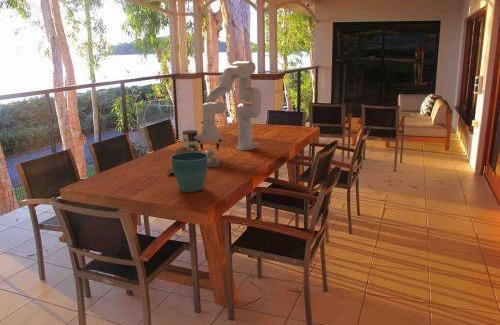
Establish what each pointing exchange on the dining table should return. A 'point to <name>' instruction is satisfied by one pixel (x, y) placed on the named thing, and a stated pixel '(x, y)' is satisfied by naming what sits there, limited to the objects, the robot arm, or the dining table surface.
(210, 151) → the oak cube
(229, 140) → the dining table surface
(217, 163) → the slate trivet
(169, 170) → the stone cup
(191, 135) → the coffee can
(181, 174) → the flower pot
